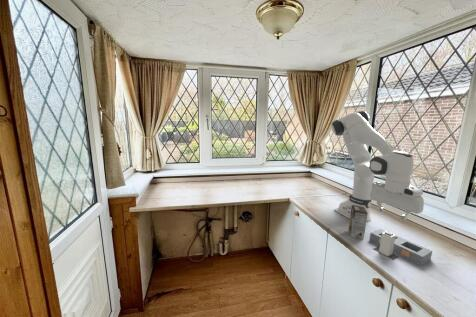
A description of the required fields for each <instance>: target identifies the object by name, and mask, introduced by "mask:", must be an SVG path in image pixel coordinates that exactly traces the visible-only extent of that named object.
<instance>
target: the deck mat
mask: <svg viewBox="0 0 476 317" xmlns="http://www.w3.org/2000/svg"><path fill="white" fill-rule="evenodd" d="M379 248H380V246H377V247H374V248H372V250H374V251H375V252H378V253H379V254H381V255H383V256H385V257H387V258H389V259H391V260H392V261H394V260H396V259H398V258H399V255H398V256H397V254H395V253H392V255H390V256H386V255H384V254H382V253H380V252H379Z"/></svg>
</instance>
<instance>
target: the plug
mask: <svg viewBox="0 0 476 317" xmlns="http://www.w3.org/2000/svg"><path fill="white" fill-rule="evenodd" d="M396 236H397V235H396V234H394V233H393V232H391V231H387V230H385V232H383V233H382V236H381V242H380V245H379V247H380V248H379V252H380V253H379V252H378V253H379V254H381V253H382V254H381V255H383V254H384V255H383V256H385V255H386V256H385V257H387V256H390V255H392V254H394V252H393V248H394V242H395V237H396Z"/></svg>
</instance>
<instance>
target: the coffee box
mask: <svg viewBox="0 0 476 317" xmlns="http://www.w3.org/2000/svg"><path fill="white" fill-rule="evenodd" d="M367 214H368V213H367V211H366V210H365V208H364V207H361V206H356V205H352V208H351V215H350V219H349V222H348V233H349V235H350V237H351V238H355V239H359V240H364V238H365V231H366V226H367V222H368V221H367Z"/></svg>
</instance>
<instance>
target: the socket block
mask: <svg viewBox="0 0 476 317" xmlns="http://www.w3.org/2000/svg"><path fill="white" fill-rule="evenodd" d="M385 231H386V230H385V229H383V228H379V229H377V230H374V231H371V232H370V233H369V234H370V235H369V241H371V242H372V243H374V244H376V245H378V246H380V242H381V236H382V233H383V232H385ZM393 254H395V255H398V256H400V257H402V258H404V259H405V260H408V261H410V262H412V263H414V264H417V265H418V266H421V267H422V266H423V265H424V264H426V263H428V262H429V261H431V259H432V255H433V250H432V249H429V248H426V247H425V246H421V245H419V244H417V243H415V242H412V241H410V240H408V239H406V238H403V237H401V236H398V235H396V237H395V242H394V248H393Z"/></svg>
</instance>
